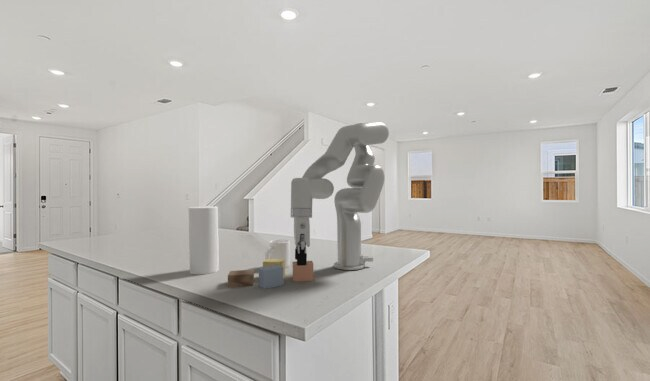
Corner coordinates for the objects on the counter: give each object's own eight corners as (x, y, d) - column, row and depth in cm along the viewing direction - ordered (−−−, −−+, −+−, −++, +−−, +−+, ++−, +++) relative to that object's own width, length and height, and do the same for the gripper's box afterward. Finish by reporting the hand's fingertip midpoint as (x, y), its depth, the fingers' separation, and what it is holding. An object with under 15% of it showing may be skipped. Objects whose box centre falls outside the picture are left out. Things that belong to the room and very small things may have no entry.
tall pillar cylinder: (218, 266, 134) (217, 205, 134) (219, 272, 124) (217, 207, 124) (190, 268, 131) (189, 206, 131) (188, 275, 121) (187, 208, 121)
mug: (273, 272, 125) (272, 245, 124) (258, 269, 130) (258, 243, 129) (294, 265, 134) (294, 240, 134) (279, 263, 139) (279, 238, 139)
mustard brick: (285, 276, 119) (284, 259, 119) (281, 279, 115) (281, 262, 115) (267, 275, 121) (266, 259, 120) (263, 278, 117) (262, 261, 117)
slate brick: (278, 282, 112) (277, 264, 111) (283, 285, 108) (283, 267, 108) (258, 286, 108) (258, 267, 108) (263, 289, 104) (263, 270, 104)
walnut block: (253, 281, 114) (253, 269, 114) (252, 286, 108) (252, 274, 108) (230, 282, 113) (230, 270, 113) (227, 287, 107) (227, 275, 107)
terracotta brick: (312, 277, 117) (312, 260, 117) (313, 280, 113) (313, 263, 113) (292, 278, 116) (292, 261, 116) (293, 281, 112) (293, 264, 112)
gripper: (315, 214, 106) (314, 267, 106) (309, 212, 123) (308, 257, 123) (291, 214, 105) (290, 268, 105) (289, 211, 122) (288, 257, 122)
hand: (300, 262), depth 114 cm, fingers open, 9 cm apart
